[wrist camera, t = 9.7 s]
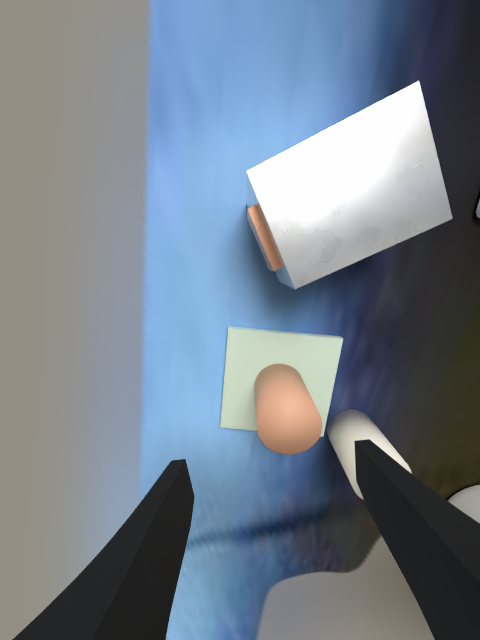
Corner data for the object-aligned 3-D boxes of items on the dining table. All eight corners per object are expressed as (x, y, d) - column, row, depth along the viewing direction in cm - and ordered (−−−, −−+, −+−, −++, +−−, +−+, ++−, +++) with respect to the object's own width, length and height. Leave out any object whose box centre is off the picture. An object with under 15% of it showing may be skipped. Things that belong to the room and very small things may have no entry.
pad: (340, 336, 19) (343, 338, 18) (321, 431, 21) (323, 436, 20) (228, 326, 19) (228, 328, 18) (220, 422, 21) (220, 427, 20)
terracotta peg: (309, 371, 19) (332, 407, 14) (293, 412, 20) (309, 461, 15) (262, 357, 19) (268, 390, 14) (248, 400, 20) (249, 445, 15)
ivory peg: (377, 411, 20) (418, 458, 15) (367, 450, 21) (403, 505, 16) (331, 407, 20) (358, 452, 15) (323, 446, 21) (346, 500, 16)
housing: (359, 146, 16) (428, 75, 10) (386, 232, 17) (461, 214, 11) (240, 207, 17) (236, 176, 11) (272, 284, 18) (285, 293, 12)
